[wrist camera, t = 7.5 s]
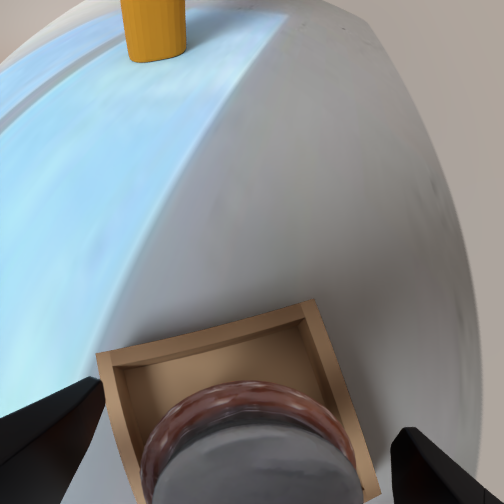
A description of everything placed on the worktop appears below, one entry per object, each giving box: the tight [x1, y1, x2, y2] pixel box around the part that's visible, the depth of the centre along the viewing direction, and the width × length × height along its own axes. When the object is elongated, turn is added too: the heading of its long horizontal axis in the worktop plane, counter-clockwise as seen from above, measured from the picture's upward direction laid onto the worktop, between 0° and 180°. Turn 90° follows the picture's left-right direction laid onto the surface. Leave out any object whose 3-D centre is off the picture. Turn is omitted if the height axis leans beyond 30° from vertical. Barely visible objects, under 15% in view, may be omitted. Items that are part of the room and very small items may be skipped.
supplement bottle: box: [139, 380, 364, 504], centre depth 9 cm, size 6×6×11 cm
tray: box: [96, 299, 382, 504], centre depth 13 cm, size 12×12×2 cm
